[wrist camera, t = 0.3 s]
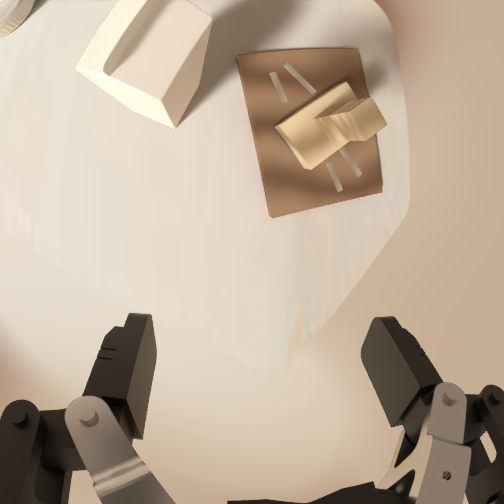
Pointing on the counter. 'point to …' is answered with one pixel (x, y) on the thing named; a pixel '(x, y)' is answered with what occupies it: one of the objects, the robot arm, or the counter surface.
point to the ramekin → (13, 14)
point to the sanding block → (329, 125)
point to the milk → (150, 56)
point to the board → (287, 102)
